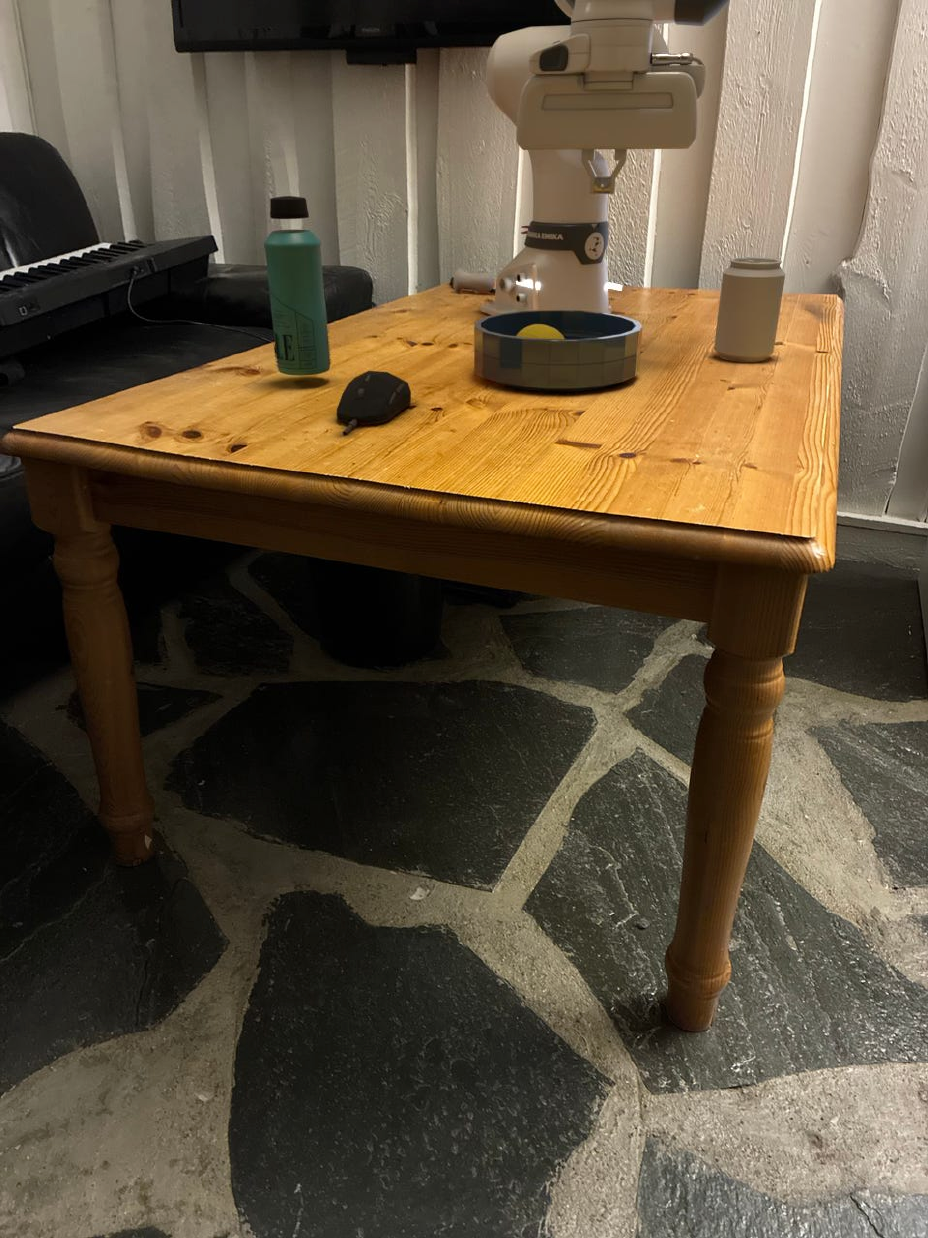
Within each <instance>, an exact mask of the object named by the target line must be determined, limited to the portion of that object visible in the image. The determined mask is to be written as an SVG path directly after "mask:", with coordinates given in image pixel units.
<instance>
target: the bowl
mask: <svg viewBox="0 0 928 1238" xmlns="http://www.w3.org/2000/svg"><path fill="white" fill-rule="evenodd" d="M533 324H543V325H547V326H550V327H553V328H555V329H556V330H558V331H559V332H560V333H561V334H562V335H563V337H564V338H565V339H539V338H524V337H516V336H517V334H518V333H519V332H520V331H521V330H522V329H524V328H525V327H527V326H530V325H533ZM643 328H644V325H642V324H641V323H640V322H639V321H638V320H636V319H633V318H631V317H628V316H624V315H619V314H613V313H611V314H609V313H600V312H591V311H575V310H532V311H517V312H508V313H501V314H495V315H487V316H484V317H481V318H479V319H478V320H476V321H474V322H473V330H474V331H473V345H474V346H473V352H474V353H473V356H474V358H473V360H474V362H473V368H474V369H473V371H474V373H475V374H477V375H478V376H479V377H481V378H483V379H486V380H489V381H493V382H496V383H497V384H500V385H503V386H506V387H511V388H514V389H521V390H528V391H538V392H560V393H561V392H581V391H582V392H583V391H590V390H591V391H593V390H597V389H603V388H606V387H610V386H613V385H615V384H620V383H623V382H625V381H628V380H630V379H633V378H635V377H636V376H637V375H638V373H639V371H640V365H641V364H640V363H641V350H642V339H643Z"/></svg>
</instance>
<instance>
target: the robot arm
mask: <svg viewBox="0 0 928 1238" xmlns="http://www.w3.org/2000/svg"><path fill="white" fill-rule="evenodd" d="M554 3H555V4H556V6H557V7H558V8H559V9H560V10H561V11H562V12H563V13H564V14H565V15H566V16H567V17H569V18H570V25H569V24H568V25H545V26H543V25H541V26H528V27H524V28H521V29H517V30H514V31H511V32H507V33H505V34H501V35H500V36H498V37H497V38H496V40H495V42H494V43H493V45H492V47H491V49H490V50H489V52H488V53H489V54H488V56H487V60H486V64H485V82H486V87H487V91H488V94H489V96H490V97H491V100H492V102H493V103H494V105H495V106H496V107H497V109H498V110H500V112H502V113H503V114H504V115H505V116H506V117H507V118H508V119H509V120H510V121H511V122H512V123H513V125H514V126H515V127H516V130H515V131H516V133H515V134H516V135H515V136H516V138H515V139H516V140H515V141H516V143H517V145H518V146H519V148H520V149H521V150H522V151H527V152H528V156H529V161H530V165H531V176H532V177H531V178H532V220H531V221H530V222H529V225H521V227H520V229H527V230H525V231H521V232H520V234H521V235H526V236H525V239H524V241H523V242H524V243H523V245H524V247H523V248H522V250H520V251H519V252H518V254H516V255H515V256H514V257H513V258H512V259H511V260H510V261H509V262H508V263H507V264H506V265H505V266H504V267H503V268H502V269H500V271H499V272H498V274H497V277H496V281H495V288H493V289H492V290H491V291H490V292H489V293H488V294H494V301H489V302H486V303H482V304H481V305H480V310H479V311H480V312H482V313H484V314H487V315H489V316H491V315H495V314H501V313H508V312H517V311H532V310H575V311H591V312H600V313H609V314H612V306H611V305H610V303H609V302H610V301H609V289H611V290H615V291H622V290H623V285H622V284H618V283H613V282H609V278H608V277H609V276H608V275H609V274H608V261H607V257H606V249H607V248H608V247H609V236H610V222H609V221H608V220H607V216H608V215H607V214H608V199H609V195H615V193H616V183H617V178H618V176H619V174H620V172H621V171H622V169H623V167H624V166H625V164H626V163H627V161H628V160H627V159H628V150H689V149H690V148H691V147H692V146H694V144H695V143H696V141H697V135H698V100H699V98H700V97H701V96H702V95H703V92H704V89H705V83H706V74H707V73H706V66H705V63H703V61H702V60H701V59H700V58H699V57H695V56H694V53H691V52H681V53H677V54H676V53H670V51H669V47H668V44H667V42H666V40H665V38H664V36H663V35H662V33H661V32H660V31H659V30H658V28H656V27H654V25H660V24H663V25H664V24H675V25H678V26H693V27H704V26H706V24H708V23H709V22H711V21H712V20H713V19H714V18H716V16H717V15H719V13H721V12H722V11H723V10H724V8H725V7H726V6H727V5H728V4H729V3H730V0H554ZM693 62H694V63H696V64H693ZM599 150H614V155H613V160H614V161H616V162H617V161H618V162H617V164H616V165H615V167H614V169H613V170H612V172H611V174H610V168H609V165H608V162H607V160H606V158H605V157H604V155H602V153H600V152H599ZM453 283H454V276H452V277H451V278H450V281H449V285H451V286H452V287H453ZM464 290H465V291H471V290H470V289H464Z"/></svg>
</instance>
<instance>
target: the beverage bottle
mask: <svg viewBox="0 0 928 1238" xmlns="http://www.w3.org/2000/svg"><path fill="white" fill-rule="evenodd" d="M269 210H270V211H269V216H270V217H269V218H270V219H272V220H273V219H274V220H298V219H299V220H300V219H308V218H310V216H309V215H310V214H309V210H308V203H307V198H305V197H301V196H293V195H284V196H277V197H271V198H270V200H269ZM321 246H322V242H321V240H320V238H319V237H318V236H317V235H316V234H314V232H313V231H311V229H279V230H272V231H271V232H270V233H269V234H268V235H267V237H266V238H265V240H264V241H263V248H264V251H265V253H264V254H265V260H266V261H265V262H266V270H267V271H266V272H267V273H266V274H267V287H268V290H267V292H268V293H269V294H268V295H267V296H268V298H269V301H270V302H269V303H270V311H271V318H272V319H271V320H272V321H271V322H272V323H271V325H272V335H273V339H272V341H273V344H274V346H273V349H274V350H273V351H274V352H273V353H274V358H275V366H276V367H277V370H278V372H279V373H280V374H282V375H286V376H287V375H288V376H313V375H320V374H324V373H326V372H327V373H328V371H330V370H331V369H330V368H331V364H332V362H333V361H332V360H331V359H332V355H331V354H332V353H331V352H332V351H331V344H330V341H331V340H330V335H329V333H330V331H329V329H330V328H329V327H330V326H328V319H329V317H328V316H327V315H328V312H327V301H326V299H325V289H324V288H325V286H324V275H323V273H324V272H323V263H322V250H321V249H322V248H321Z"/></svg>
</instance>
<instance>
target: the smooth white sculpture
mask: <svg viewBox="0 0 928 1238" xmlns="http://www.w3.org/2000/svg"><path fill="white" fill-rule="evenodd" d="M453 277H454V283H453V286H452V287H453V290H455V292H457V293H460V292H461V291H462V290H465V289H470V290H469V291H472V292H474V294H477V295H480V294H490V293H489V292H490V291H491V290H492V289H495V287H496V281H495V278H494V277H493V276H492V274H490V273H489V272H488V273H487V272H484V270H477V272H476V273H468V272H466V271H464V269H463V268H462V267H460V268H458V269H456V270H455V273H454V276H453Z"/></svg>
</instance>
